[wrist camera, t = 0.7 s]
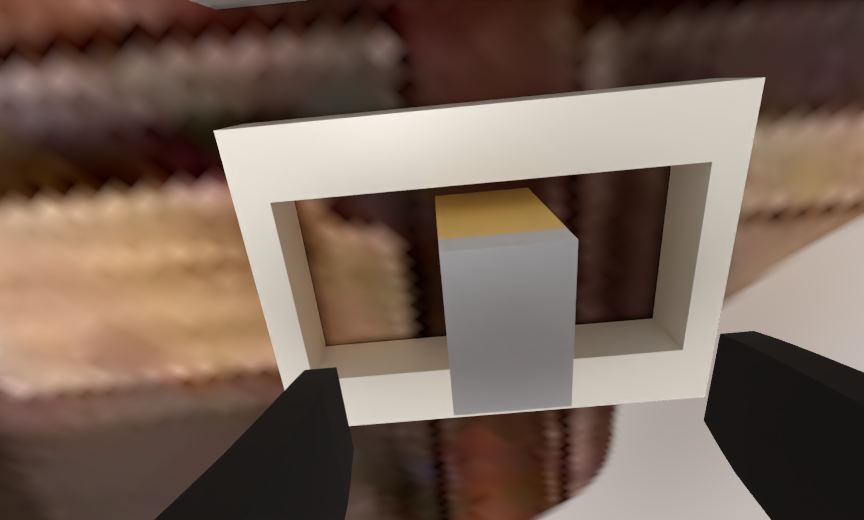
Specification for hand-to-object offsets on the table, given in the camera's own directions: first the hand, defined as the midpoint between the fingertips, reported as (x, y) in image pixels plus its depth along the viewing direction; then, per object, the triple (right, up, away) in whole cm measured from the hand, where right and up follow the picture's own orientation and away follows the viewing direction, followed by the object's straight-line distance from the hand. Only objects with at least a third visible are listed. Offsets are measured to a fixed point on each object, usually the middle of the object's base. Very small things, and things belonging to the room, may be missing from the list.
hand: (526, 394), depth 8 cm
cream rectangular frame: (0, +3, +6) cm, 7 cm away
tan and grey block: (0, +3, +7) cm, 7 cm away
